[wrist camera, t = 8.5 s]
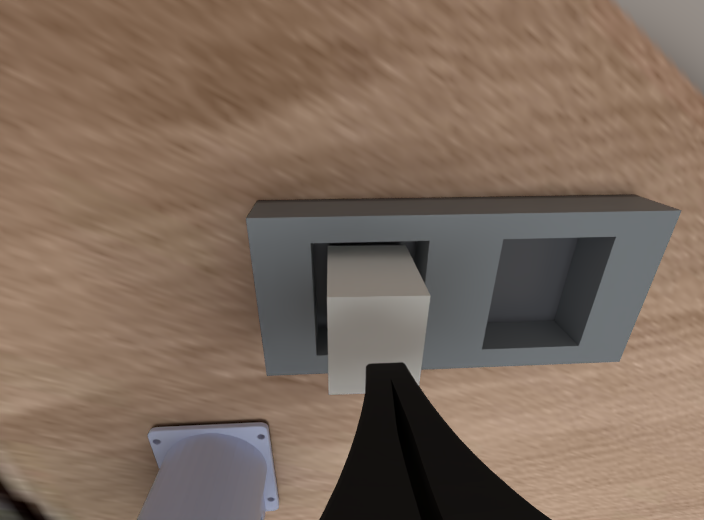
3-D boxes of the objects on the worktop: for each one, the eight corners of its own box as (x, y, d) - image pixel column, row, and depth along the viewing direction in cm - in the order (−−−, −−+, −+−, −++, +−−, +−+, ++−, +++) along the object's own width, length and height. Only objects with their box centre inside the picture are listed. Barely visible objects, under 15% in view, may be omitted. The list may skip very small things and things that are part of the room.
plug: (396, 317, 21) (418, 391, 16) (329, 318, 21) (328, 394, 16) (402, 239, 19) (430, 295, 14) (327, 239, 19) (327, 297, 14)
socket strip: (587, 332, 23) (619, 361, 20) (274, 342, 22) (266, 375, 19) (635, 194, 19) (681, 210, 17) (257, 200, 18) (245, 218, 16)
